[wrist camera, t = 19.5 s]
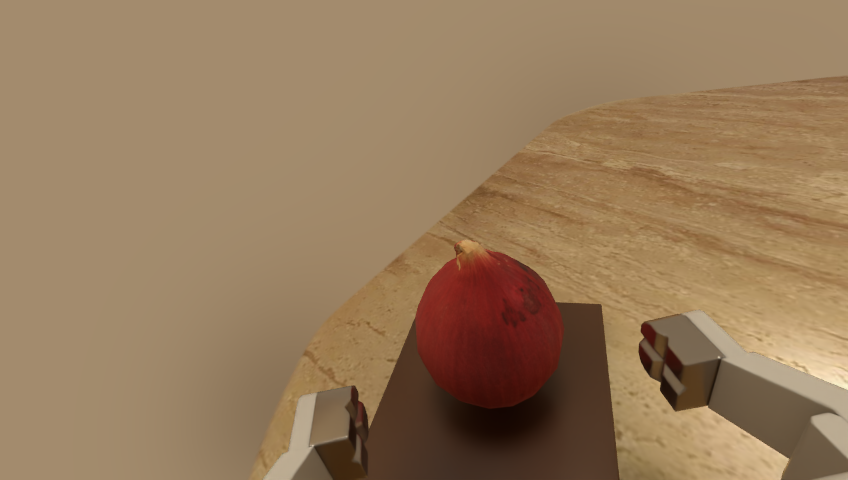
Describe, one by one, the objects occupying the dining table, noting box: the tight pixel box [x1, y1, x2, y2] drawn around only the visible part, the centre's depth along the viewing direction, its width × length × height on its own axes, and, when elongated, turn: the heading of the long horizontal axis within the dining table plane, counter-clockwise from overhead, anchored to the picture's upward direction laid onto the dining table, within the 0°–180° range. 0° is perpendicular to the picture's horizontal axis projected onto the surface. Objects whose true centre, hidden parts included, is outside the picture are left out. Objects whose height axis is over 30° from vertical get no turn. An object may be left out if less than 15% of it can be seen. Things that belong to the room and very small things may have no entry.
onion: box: [415, 240, 564, 409], centre depth 16 cm, size 6×6×8 cm
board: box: [359, 302, 619, 480], centre depth 19 cm, size 10×12×1 cm
